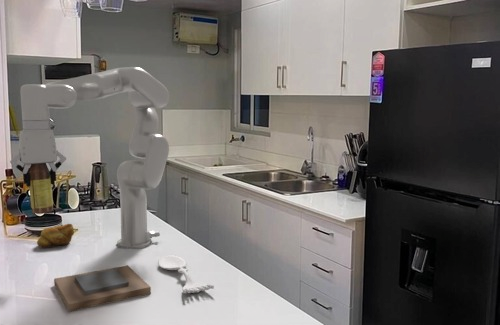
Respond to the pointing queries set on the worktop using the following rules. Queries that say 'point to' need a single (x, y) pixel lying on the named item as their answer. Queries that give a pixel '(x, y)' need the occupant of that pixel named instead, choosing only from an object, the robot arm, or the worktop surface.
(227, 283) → the worktop surface
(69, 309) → the walnut base
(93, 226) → the worktop surface
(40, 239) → the bread roll
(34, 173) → the sauce bottle
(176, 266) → the double-ended spork
